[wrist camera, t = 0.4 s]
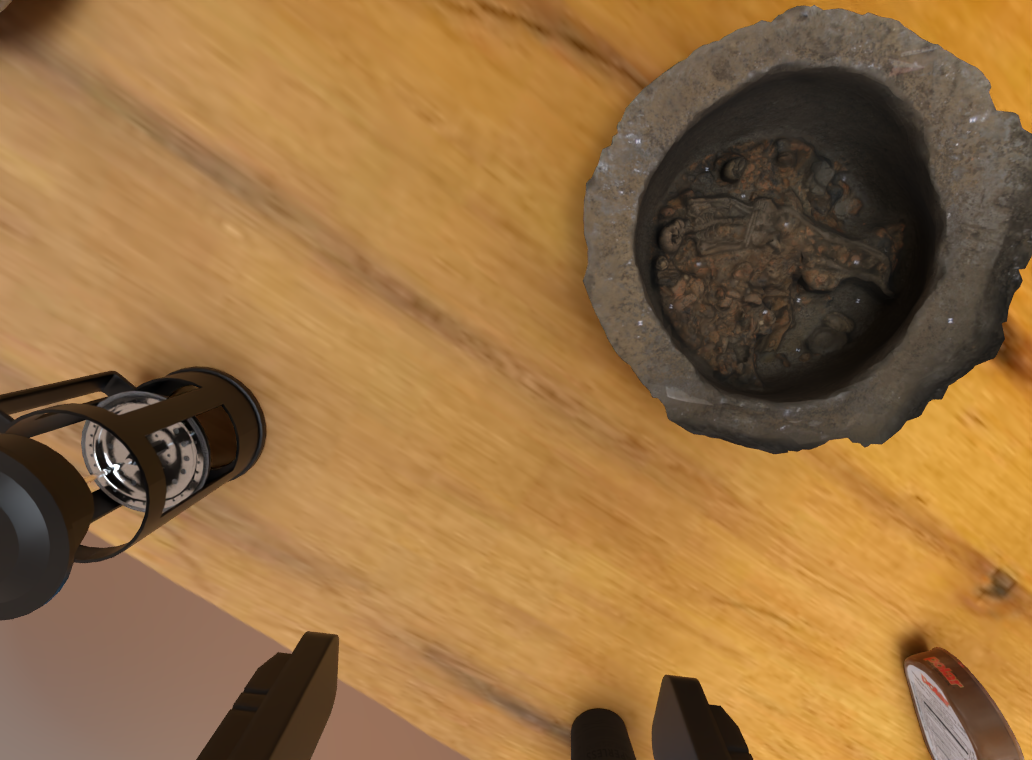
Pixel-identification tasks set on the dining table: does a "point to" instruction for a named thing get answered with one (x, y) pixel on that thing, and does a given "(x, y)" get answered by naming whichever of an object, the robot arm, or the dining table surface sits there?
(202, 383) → the french press
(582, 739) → the drinking cup
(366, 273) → the dining table surface
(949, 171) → the stone bowl
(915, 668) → the tin
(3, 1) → the grey carved stone
